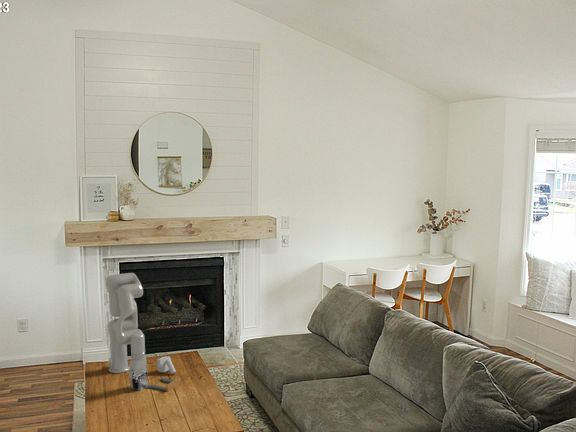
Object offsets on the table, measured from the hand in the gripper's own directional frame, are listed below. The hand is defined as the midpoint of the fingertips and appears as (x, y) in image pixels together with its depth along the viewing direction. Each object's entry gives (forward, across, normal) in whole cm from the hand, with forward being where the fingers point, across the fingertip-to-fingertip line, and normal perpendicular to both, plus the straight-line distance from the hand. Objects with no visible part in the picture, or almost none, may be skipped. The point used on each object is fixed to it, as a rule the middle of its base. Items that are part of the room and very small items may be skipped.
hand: (139, 386), depth 320 cm
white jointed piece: (+1, -25, +1) cm, 25 cm away
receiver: (+1, -8, +12) cm, 14 cm away
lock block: (+1, 0, 0) cm, 1 cm away
